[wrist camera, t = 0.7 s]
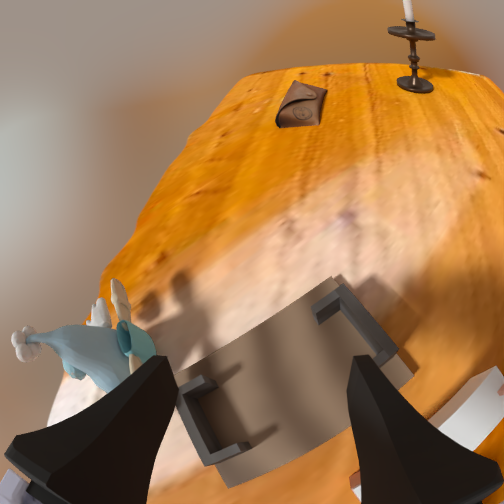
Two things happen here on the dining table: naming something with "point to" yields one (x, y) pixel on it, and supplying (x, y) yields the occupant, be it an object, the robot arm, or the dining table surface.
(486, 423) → the white rectangular block
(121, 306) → the toy figure
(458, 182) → the dining table surface
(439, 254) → the dining table surface
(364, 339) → the cradle jig
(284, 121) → the sunglasses case
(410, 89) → the candlestick
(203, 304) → the dining table surface
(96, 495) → the robot arm
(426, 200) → the dining table surface
